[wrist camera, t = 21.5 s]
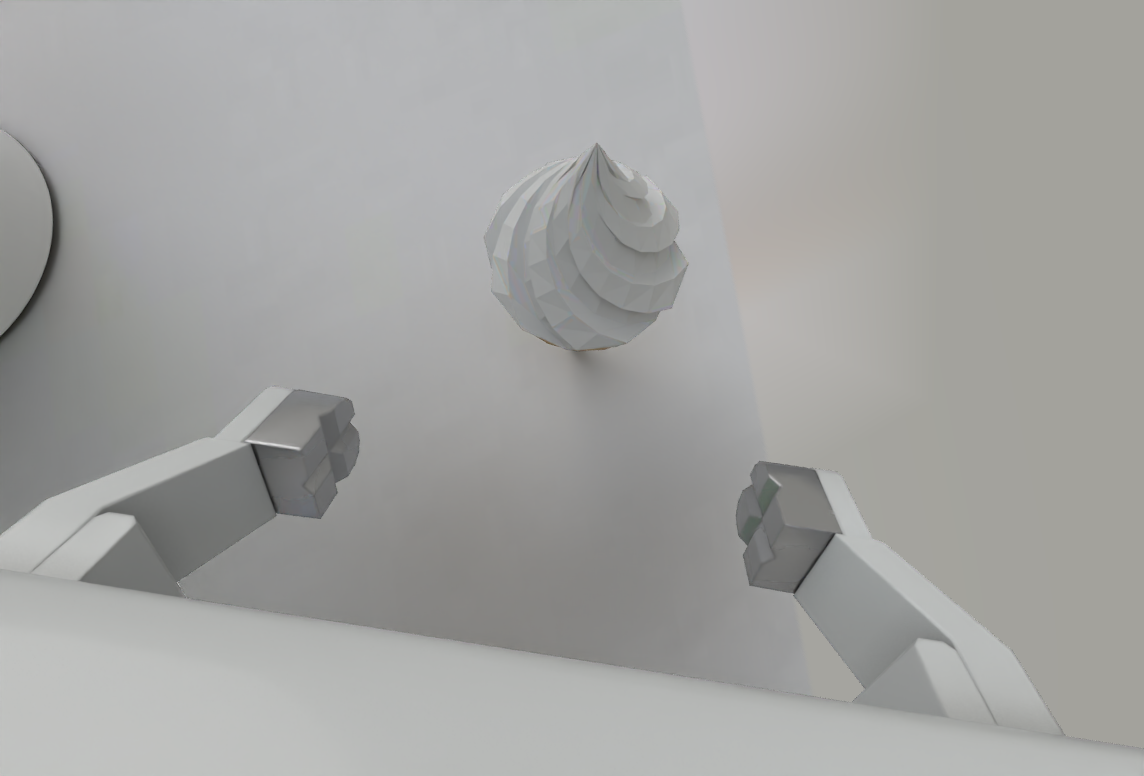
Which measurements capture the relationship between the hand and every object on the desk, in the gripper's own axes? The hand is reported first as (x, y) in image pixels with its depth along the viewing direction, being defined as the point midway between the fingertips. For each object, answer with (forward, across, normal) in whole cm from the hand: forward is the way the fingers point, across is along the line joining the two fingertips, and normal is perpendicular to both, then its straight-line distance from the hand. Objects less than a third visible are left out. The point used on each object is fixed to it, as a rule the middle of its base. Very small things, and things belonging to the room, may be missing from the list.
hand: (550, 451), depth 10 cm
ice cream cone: (+13, 0, +5) cm, 14 cm away
